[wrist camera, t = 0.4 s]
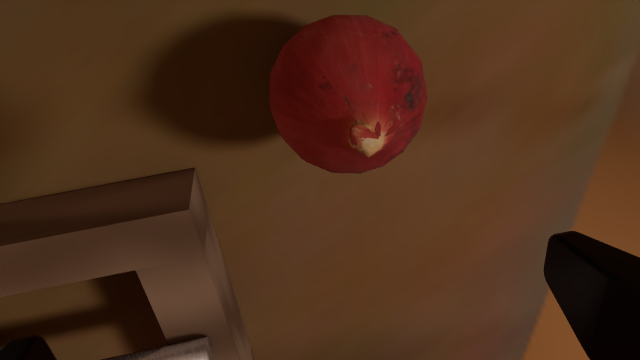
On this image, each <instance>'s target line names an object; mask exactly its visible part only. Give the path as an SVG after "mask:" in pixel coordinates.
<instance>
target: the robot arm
mask: <svg viewBox="0 0 640 360" xmlns="http://www.w3.org/2000/svg"><path fill="white" fill-rule="evenodd" d="M544 276H545V279H546V282H547V284H548V286H549V287H550V289H551V291H552V293H553V295H554V297H555V298H556V300H557V302H558V304H559V306H560V307H561V309H562V311H563V313H564V315H565V316H566V318H567V320H568V322H569V324H570V325H571V328H572V329H573V331H574V333H575V335H576V337H577V338H578V340H579V342H580V344H581V346H582V347H583V349H584V351H585V352H586V354H587V356H588V357H589V359H590V360H640V258H639V257H637V256H634V255H632V254H630V253H627V252H625V251H622V250H620V249H618V248H615V247H612V246H610V245H608V244H605V243H603V242H600V241H598V240H596V239H593V238H591V237H588V236H586V235H583V234H581V233H578V232H576V231H568V232H563V233H558V234H554V235H552V236H551V237H550V238H549V241H548V246H547V252H546V258H545V264H544ZM0 360H57V359H56V358H55V356H54V354H53V353H52V351H51V349H50V348H49V346H48V344H47V343H46V341H45V340H44V338H43V337H41V336H39V335H33V336H28V337H23V338H18V339H15V340H12V341H11V342H9V343H8V344H7V345H6V346H5V347H4V348H2V349H1V350H0Z"/></svg>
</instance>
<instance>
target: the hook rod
mask: <svg viewBox="0 0 640 360" xmlns="http://www.w3.org/2000/svg"><path fill="white" fill-rule="evenodd" d="M101 360H214V350H213V345H212V342H211V339H210V337H204V338H199V339H195V340H190V341H185V342H181V343H176V344H171V345H167V346H162V347H157V348H152V349H148V350H143V351H138V352H134V353H129V354H124V355H120V356H115V357H110V358H106V359H101Z"/></svg>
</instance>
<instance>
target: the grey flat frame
mask: <svg viewBox="0 0 640 360" xmlns="http://www.w3.org/2000/svg"><path fill="white" fill-rule="evenodd" d="M133 270H136V273H137V275H138V277H139V279H140V282H141V284H142V286H143V288H144V291H145V293H146V295H147V297H148V300H149V302H150V304H151V306H152V309H153V311H154V313H155V315H156V318H157V320H158V322H159V324H160V327H161V329H162V331H163V334H164V336H165V338H166V340H167V343H168V345H171V344H176V343H181V342H185V341H190V340H195V339H199V338H204V337H210V339H211V342H212V345H213V350H214V360H254V357H253V354H252V351H251V347H250V344H249V341H248V338H247V334H246V331H245V328H244V325H243V321H242V318H241V315H240V312H239V309H238V305H237V302H236V299H235V296H234V292H233V289H232V286H231V283H230V279H229V276H228V273H227V270H226V266H225V263H224V260H223V257H222V253H221V250H220V247H219V244H218V240H217V237H216V234H215V231H214V228H213V224H212V221H211V218H210V215H209V211H208V208H207V205H206V202H205V198H204V195H203V192H202V189H201V185H200V182H199V179H198V176H197V172H196V169H195V168H192V169H187V170H181V171H176V172H171V173H166V174H160V175H155V176H150V177H144V178H139V179H134V180H128V181H123V182H118V183H112V184H107V185H102V186H97V187H91V188H86V189H81V190H75V191H70V192H65V193H59V194H54V195H49V196H43V197H38V198H33V199H27V200H22V201H17V202H12V203H6V204H1V205H0V297H4V296H9V295H14V294H19V293H24V292H29V291H34V290H39V289H44V288H49V287H54V286H59V285H64V284H69V283H74V282H79V281H84V280H89V279H94V278H99V277H104V276H109V275H114V274H119V273H123V272H128V271H133ZM1 349H2V347H1V345H0V350H1Z"/></svg>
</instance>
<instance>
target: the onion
mask: <svg viewBox="0 0 640 360" xmlns="http://www.w3.org/2000/svg"><path fill="white" fill-rule="evenodd" d="M426 100H427V92H426V86H425V80H424V74H423V68H422V63H421V60H420V59H419V57H418V56H417V54H416V53H415V52H414V51H413V49H412V48H411V47H410V46H409V44H408V43H407V42H406V40H405V39H404V38H403V37H402V35H401V34H400V33H399V32H398V30H397V29H396V28H394V27H391V26H389V25H387V24H385V23H382V22H380V21H378V20H376V19H374V18H371V17H369V16H363V15H332V16H330V17H327V18H324V19H321V20H319V21H316V22H313V23H310V24H308V25H305V26H304V27H303V28H302V29H301V30H300V31H299V32H298V33H296V34H295V35H294V36H293V37H292V38H291V39H290V40H289V41H288V42H287V43H286V44H285V45H284V46H283V48H282V50H281V52H280V54H279V56H278V58H277V60H276V62H275V64H274V66H273V68H272V70H271V74H270V104H269V108H270V111H271V113H272V116H273V118H274V121H275V123H276V126H277V128H278V131H279V133H280V135H281V136H282V138H283V139H284V140H285V142H286V143H287V144H288V145H289V146H290V147H291V148H292V149H293V150H294V151H295V152H296V153H297V154H298V155H299V156H300V157H301V158H302V159H303V160H305V161H306V162H308V163H310V164H313V165H315V166H317V167H320V168H322V169H325V170H327V171H329V172H333V173H363V172H366V171H369V170H372V169H375V168H379V167H382V166H384V165H385V164H387V163H388V162H390V161H391V160H392V159H394V158H395V157H397V156H398V155H399V154H401V153H402V152H403V151H404V150H405V148H406V147H407V146H408V144H409V143H410V142H411V140H412V139H413V138H414V136H415V135H416V133H417V132H418V130H419V129H420V125H421V121H422V117H423V113H424V109H425V105H426Z"/></svg>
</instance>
